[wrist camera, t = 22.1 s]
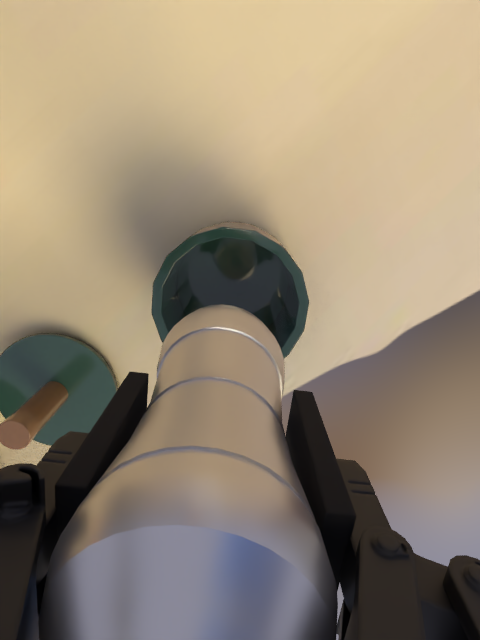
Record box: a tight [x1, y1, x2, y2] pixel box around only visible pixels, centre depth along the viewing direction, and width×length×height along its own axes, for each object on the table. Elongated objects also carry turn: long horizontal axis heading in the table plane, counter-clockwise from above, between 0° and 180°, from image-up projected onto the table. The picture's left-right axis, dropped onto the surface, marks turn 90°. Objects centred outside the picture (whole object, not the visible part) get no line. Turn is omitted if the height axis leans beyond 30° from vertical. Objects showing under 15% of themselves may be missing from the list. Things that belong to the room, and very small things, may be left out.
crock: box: [152, 221, 309, 358], centre depth 36 cm, size 13×13×9 cm
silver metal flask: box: [38, 304, 338, 640], centre depth 13 cm, size 6×7×20 cm
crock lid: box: [0, 333, 118, 449], centre depth 39 cm, size 14×14×9 cm
